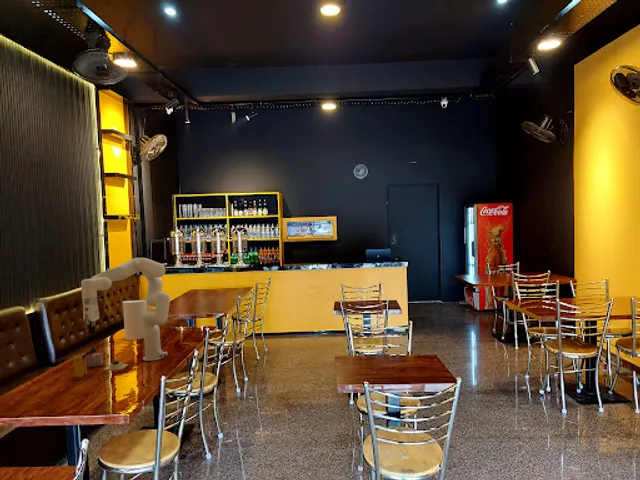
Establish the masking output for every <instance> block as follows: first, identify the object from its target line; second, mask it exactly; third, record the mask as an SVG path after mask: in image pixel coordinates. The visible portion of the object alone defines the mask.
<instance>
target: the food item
mask: <svg viewBox="0 0 640 480" xmlns="http://www.w3.org/2000/svg"><path fill="white" fill-rule="evenodd" d="M103 356H104V352H99V353H98V352H97V353H96V352H95V353H90V354H88V355H86V368H97V367H98V368H99V367H101V366H104V364H103Z"/></svg>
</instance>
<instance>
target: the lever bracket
mask: <svg viewBox="0 0 640 480" xmlns="http://www.w3.org/2000/svg"><path fill="white" fill-rule="evenodd" d="M85 354H86V353H81V354H76V355H75V356H73V369H74V378H83V377H84V376H86V375H87V374H88V373H87V371H88V370H87V367H86V356H85V357H83V358H84V359H83V360H82V356H83V355H85ZM81 355H82V356H81Z"/></svg>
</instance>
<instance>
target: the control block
mask: <svg viewBox="0 0 640 480" xmlns="http://www.w3.org/2000/svg"><path fill="white" fill-rule="evenodd" d="M128 366H129V363H122V362H121V361H119V364H115V365H113V364H112V362H111V363H109V364H108V365H107V366H106V367H104V368H103V371H105V372H107V371H123V370H124V369H125V368H127V367H128Z"/></svg>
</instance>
